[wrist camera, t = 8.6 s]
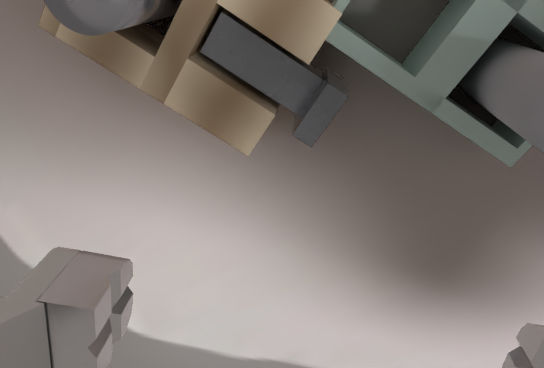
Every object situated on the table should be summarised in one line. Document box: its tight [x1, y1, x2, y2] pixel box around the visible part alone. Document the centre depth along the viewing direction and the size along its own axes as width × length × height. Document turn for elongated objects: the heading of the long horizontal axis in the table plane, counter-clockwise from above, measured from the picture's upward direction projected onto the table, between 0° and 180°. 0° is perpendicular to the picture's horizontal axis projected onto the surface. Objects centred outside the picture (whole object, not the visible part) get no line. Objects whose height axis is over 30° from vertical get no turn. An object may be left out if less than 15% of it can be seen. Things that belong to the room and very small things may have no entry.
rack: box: [326, 0, 544, 168], centre depth 21 cm, size 13×7×10 cm, turn 58°
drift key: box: [200, 10, 348, 147], centre depth 24 cm, size 8×3×5 cm, turn 58°
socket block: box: [38, 0, 342, 156], centre depth 24 cm, size 13×9×4 cm
